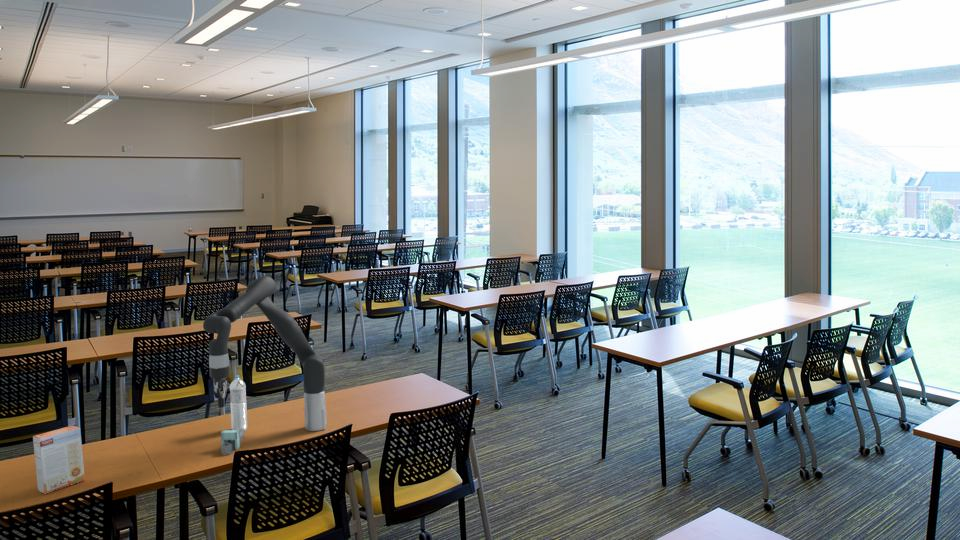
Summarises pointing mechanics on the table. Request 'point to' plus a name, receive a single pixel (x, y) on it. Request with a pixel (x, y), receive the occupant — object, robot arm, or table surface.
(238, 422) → the water bottle
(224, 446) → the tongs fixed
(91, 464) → the table surface
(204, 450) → the table surface
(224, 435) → the lock collar
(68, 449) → the cracker box
